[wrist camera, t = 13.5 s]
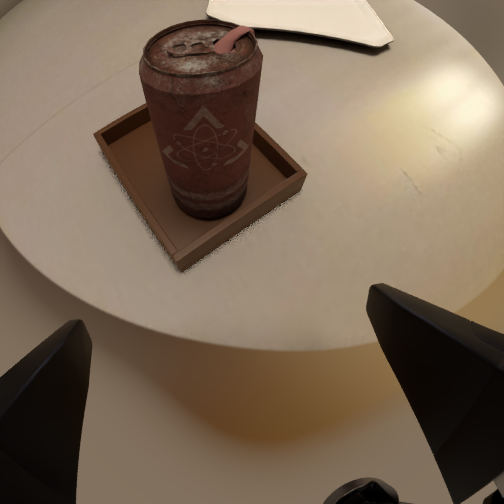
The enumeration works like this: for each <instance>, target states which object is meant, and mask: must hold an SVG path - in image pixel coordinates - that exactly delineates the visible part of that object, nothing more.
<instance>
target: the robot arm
mask: <svg viewBox="0 0 504 504" xmlns="http://www.w3.org/2000/svg"><path fill="white" fill-rule="evenodd" d="M366 311H367V314H368V317H369V319H370V321H371V324H372V326H373V329H374V331H375V334H376V336H377V339H378V341H379V344H380V346H381V348H382V350H383V352H384V354H385V356H386V358H387V360H388V362H389V364H390V366H391V368H392V370H393V371H394V373H395V375H396V378H397V379H398V381H399V383H400V385H401V387H402V389H403V391H404V393H405V395H406V397H407V399H408V401H409V403H410V405H411V407H412V410H413V412H414V414H415V416H416V418H417V420H418V422H419V424H420V426H421V428H422V431H423V433H424V435H425V437H426V439H427V441H428V444H429V446H430V448H431V450H432V453H433V454H434V457H435V460H436V462H437V464H438V467H439V469H440V471H441V474H442V476H443V479H444V481H445V483H446V486H447V488H448V491H449V493H450V496H451V498H452V501H453V503H454V504H460V503H461V502H463V501H465V500H466V499H468V498H469V497H471V496H472V495H474V494H475V493H476V492H478V491H479V490H481V489H482V488H483V487H485V486H486V485H488V484H489V483H490V482H491V481H494V482H495V484H496V486H497V488H498V489H497V490H496V491H494V492H493V493H492V494H490V495H489V496H488V497H486V498H485V499H484V501H483V504H504V334H502V333H499V332H497V331H494V330H491V329H489V328H487V327H484V326H482V325H480V324H477V323H475V322H473V321H470V320H468V319H466V318H464V317H461V316H459V315H456V314H454V313H452V312H450V311H447V310H445V309H443V308H440V307H438V306H436V305H433V304H431V303H429V302H426V301H424V300H422V299H419V298H417V297H415V296H412V295H410V294H408V293H405V292H403V291H400V290H398V289H396V288H393V287H391V286H388V285H386V284H384V283H379V284H374V285H372V286H371V287H370V289H369V294H368V300H367V305H366ZM91 354H92V341H91V338H90V335H89V333H88V331H87V329H86V326H85V324H84V322H83V321H82V320H80V319H76V320H69V321H68V322H67V323H65V324H64V325H63V326H62V327H60V328H59V329H58V330H57V331H55V332H54V333H53V334H52V335H50V336H49V337H48V338H47V339H45V341H43V342H42V343H41V344H39V345H38V346H37V347H36V348H34V349H33V350H32V351H31V352H30V353H28V354H27V355H26V356H25V357H24V358H23V359H21V360H20V361H19V362H18V363H17V364H15V365H14V366H13V367H12V368H11V369H10V370H8V371H7V372H6V373H5V374H4V375H3V376H1V377H0V504H76V487H77V472H78V460H79V450H80V441H81V433H82V425H83V419H84V412H85V406H86V399H87V393H88V387H89V375H90V364H91ZM373 484H374V485H373ZM371 485H373V486H372V487H371ZM342 504H411V503H404V502H398V503H397V502H396V501H395V500H394V499H393V498H392V497H391V496H390V495H389V494H388V493H387V492H386V491H385V490H384V489H383V488H382V487H381V486H380V485H379V484H378V483H377V482H376V481H373V480H372V481H370V482H369V483H367V484H366V485H365V486H364V487H363V488H362V489H360V490H359V491H358V492H357V493H355V494H354V495H353V496H351V497H350V498H349V499H348V500H346V501H345V502H344V503H342Z"/></svg>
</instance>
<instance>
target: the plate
mask: <svg viewBox="0 0 504 504" xmlns="http://www.w3.org/2000/svg"><path fill="white" fill-rule="evenodd" d="M206 14H207V16H208V17H210V18H213V19H215V20H221V21H227V22H232V23H235V24H238V25H240V26H246V27H249V28H251V29H260V30H273V31H283V32H292V33H300V34H307V35H314V36H320V37H326V38H332V39H337V40H342V41H347V42H351V43H356V44H360V45H364V46H369V47H372V48H380V47H382V46H385V45H387V44H389V43H391V42H393V37H392V36H391V34H390V33H389V31H388V30H387V28H386V27H385V25H384V24H383V22H382V21H381V20H380V18H379V17H378V16H377V14H376V13H375V12H374V10H373V9H372V8H371V6H370V5H369V4H368V2H367V1H366V0H210V1H209V4H208V8H207V11H206Z"/></svg>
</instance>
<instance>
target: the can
mask: <svg viewBox="0 0 504 504" xmlns="http://www.w3.org/2000/svg"><path fill="white" fill-rule="evenodd" d="M262 61H263V55H262V53H261V51H260V49H259V47H258V45H257V40H256V38H255V34H254V31H253V29H251V28H249V27H246V26H240V25H238V24H235V23H232V22H227V21H221V20H195V21H187V22H183V23H180V24H176V25H173V26H170V27H168V28H166V29H164V30H162V31H160V32H158V33H157V34H156V35H154V36H153V37H152V38H151V39H149V41H148V42H147V44H146V45H145V47H144V49H143V55H142V58H141V60H140V64H139V75H140V79H141V83H142V87H143V91H144V95H145V99H146V103H147V107H148V110H149V114H150V118H151V122H152V125H153V129H154V133H155V136H156V140H157V143H158V147H159V150H160V154H161V157H162V161H163V164H164V168H165V171H166V174H167V178H168V181H169V184H170V187H171V191H172V194H173V197H174V199H175V200H176V202H177V204H178V206H179V207H181V208H182V209H183V210H184V211H185V212H186V213H188V214H191V215H193V216H196V217H199V218H209V219H210V218H215V217H221V216H224V215H226V214H228V213H230V212H232V211H233V210H234V209H236V208H237V207H238V206H239V205H240V204H241V203H242V201H243V199H244V197H245V195H246V192H247V184H248V175H249V167H250V158H251V150H252V141H253V133H254V125H255V117H256V109H257V101H258V93H259V85H260V77H261V69H262Z"/></svg>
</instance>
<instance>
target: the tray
mask: <svg viewBox="0 0 504 504" xmlns="http://www.w3.org/2000/svg"><path fill="white" fill-rule="evenodd" d="M93 135H94V137H95V139H96V141H97V143H98V144H99V146H100V148H101V150H102V152H103V154H104V155H105V157H106V159H107V160H108V162H109V164H110V165H111V167H112V168H113V170H114V172H115V173H116V175H117V177H118V178H119V180H120V181H121V183H122V185H123V186H124V188H125V189H126V191H127V193H128V194H129V196H130V197H131V199H132V200H133V202H134V203H135V205H136V207H137V208H138V210H139V211H140V213H141V214H142V216H143V217H144V219H145V220H146V222H147V223H148V225H149V226H150V228H151V229H152V231H153V232H154V234H155V235H156V237H157V238H158V240H159V241H160V243H161V244H162V245H163V247H164V248H165V250H166V251H167V253H168V254H169V256H170V257H171V258H172V260H173V261H174V263H175V264H176V266H177V267H178V268H179V270H180V271H181V272H183V271H184V270H186V269H187V268H188V267H190V266H191V265H193V264H194V263H195V262H197V261H198V260H200V259H201V258H202V257H204V256H205V255H207V254H208V253H210V252H211V251H212V250H214V249H215V248H217V247H218V246H220V245H221V244H222V243H224V242H225V241H227V240H228V239H230V238H231V237H233V236H234V235H235V234H237V233H238V232H240V231H241V230H243V229H244V228H246V227H247V226H248V225H250V224H251V223H253V222H254V221H256V220H257V219H259V218H260V217H262V216H263V215H264V214H266V213H267V212H269V211H270V210H272V209H273V208H275V207H276V206H278V205H279V204H281V203H282V202H284V201H285V200H287V199H288V198H290V197H291V196H292V195H294V194H295V193H297V192H298V191H300V190H301V188H302V186H303V183H304V181H305V179H306V176H307V173H306V172H305V171H304V170H303V169H302V168H301V167H300V166H299V165H298V164H297V163H296V162H295V161H294V160H293V159H292V158H291V157H290V156H289V155H288V154H287V153H286V152H285V151H284V150H283V149H282V148H281V147H280V146H279V145H278V144H277V143H276V142H275V141H274V140H273V139H272V138H271V137H270V136H269V135H268V134H267V133H266V132H265V131H264V130H263V129H262V128H261V127H260V126H258V125H257V124H256V123H255V125H254V133H253V141H252V150H251V158H250V167H249V175H248V184H247V192H246V195H245V197H244V199H243V201H242V203H241V204H240V205H239V206H238V207H237V208H236V209H234V210H233V211H232V212H230V213H228V214H226V215H224V216H221V217H215V218H210V219H209V218H199V217H196V216H193V215H191V214H188V213H186V212H185V211H184V210H183V209H182V208H181V207H179V206H178V204H177V202H176V200H175V199H174V197H173V194H172V191H171V187H170V184H169V181H168V178H167V174H166V171H165V168H164V164H163V161H162V157H161V154H160V150H159V147H158V143H157V140H156V136H155V133H154V129H153V125H152V122H151V118H150V114H149V110H148V107H147V103H145V104H143V105H142V106H140V107H138V108H136V109H134V110H132V111H131V112H129V113H127V114H125V115H124V116H122V117H120V118H119V119H117V120H115V121H113V122H112V123H110V124H108V125H107V126H105V127H104V128H102V129H100V130H99V131H97V132H96V133H94V134H93Z"/></svg>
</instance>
